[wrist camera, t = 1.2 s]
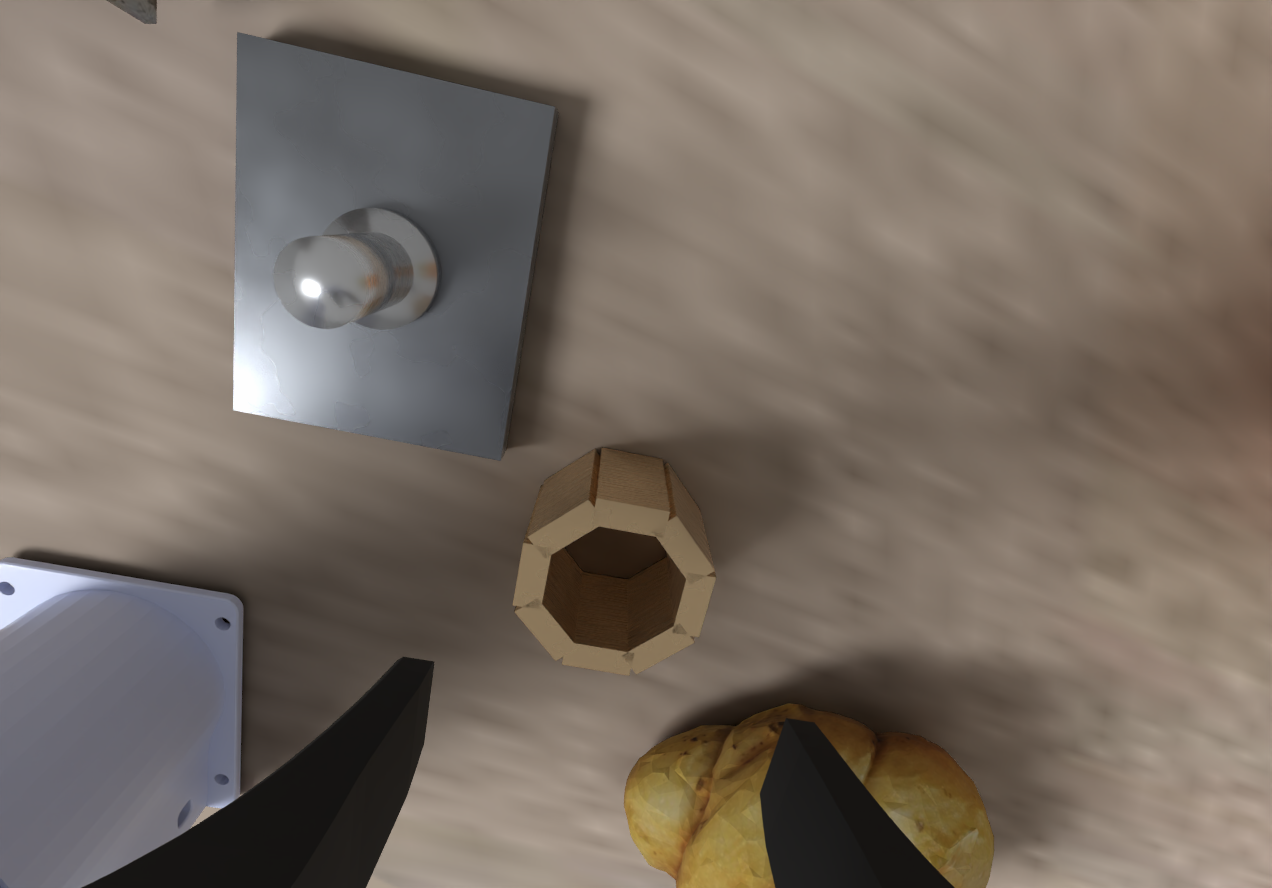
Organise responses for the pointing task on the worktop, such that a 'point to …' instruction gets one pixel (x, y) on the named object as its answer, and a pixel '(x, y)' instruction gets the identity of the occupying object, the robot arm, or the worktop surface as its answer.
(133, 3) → the caster wheel
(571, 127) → the worktop surface
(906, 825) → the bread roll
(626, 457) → the hub ring
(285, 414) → the stub shaft
